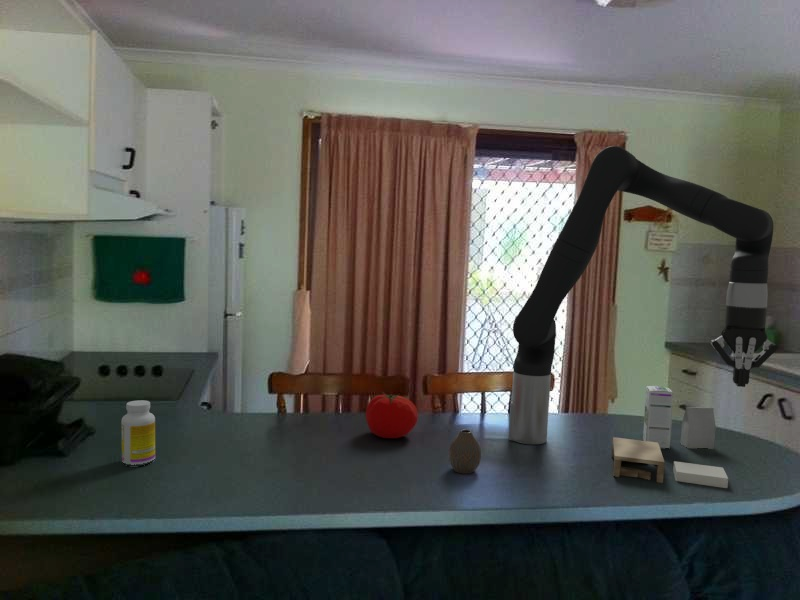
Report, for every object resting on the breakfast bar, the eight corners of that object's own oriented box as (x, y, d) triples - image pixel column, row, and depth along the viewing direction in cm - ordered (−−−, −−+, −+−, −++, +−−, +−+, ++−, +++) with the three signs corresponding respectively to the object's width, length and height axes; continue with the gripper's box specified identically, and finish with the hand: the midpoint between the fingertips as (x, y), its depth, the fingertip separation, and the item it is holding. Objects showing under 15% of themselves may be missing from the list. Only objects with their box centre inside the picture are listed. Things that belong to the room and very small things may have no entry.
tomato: (354, 434, 162) (356, 393, 161) (387, 425, 171) (388, 385, 170) (394, 447, 153) (396, 404, 152) (426, 436, 162) (428, 395, 161)
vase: (459, 478, 135) (461, 437, 134) (442, 467, 141) (443, 428, 140) (486, 473, 138) (488, 434, 137) (468, 463, 144) (470, 425, 143)
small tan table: (613, 476, 139) (614, 455, 139) (611, 456, 153) (612, 437, 152) (662, 483, 137) (664, 462, 136) (656, 461, 150) (658, 442, 150)
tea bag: (713, 449, 161) (717, 410, 160) (686, 448, 161) (690, 409, 160) (706, 444, 165) (709, 406, 164) (680, 443, 165) (683, 405, 164)
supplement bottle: (162, 460, 139) (162, 401, 137) (137, 469, 133) (137, 408, 131) (139, 454, 141) (139, 397, 140) (114, 463, 135) (114, 404, 134)
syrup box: (670, 449, 160) (674, 391, 158) (645, 446, 161) (649, 389, 159) (665, 442, 165) (670, 386, 164) (641, 440, 166) (645, 384, 165)
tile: (675, 482, 138) (676, 471, 138) (673, 472, 145) (673, 461, 145) (727, 490, 135) (728, 478, 135) (722, 478, 142) (723, 467, 142)
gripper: (714, 304, 133) (709, 387, 134) (787, 307, 129) (780, 392, 131) (708, 301, 140) (703, 379, 142) (777, 304, 136) (770, 385, 138)
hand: (740, 385), depth 136 cm, fingers closed
